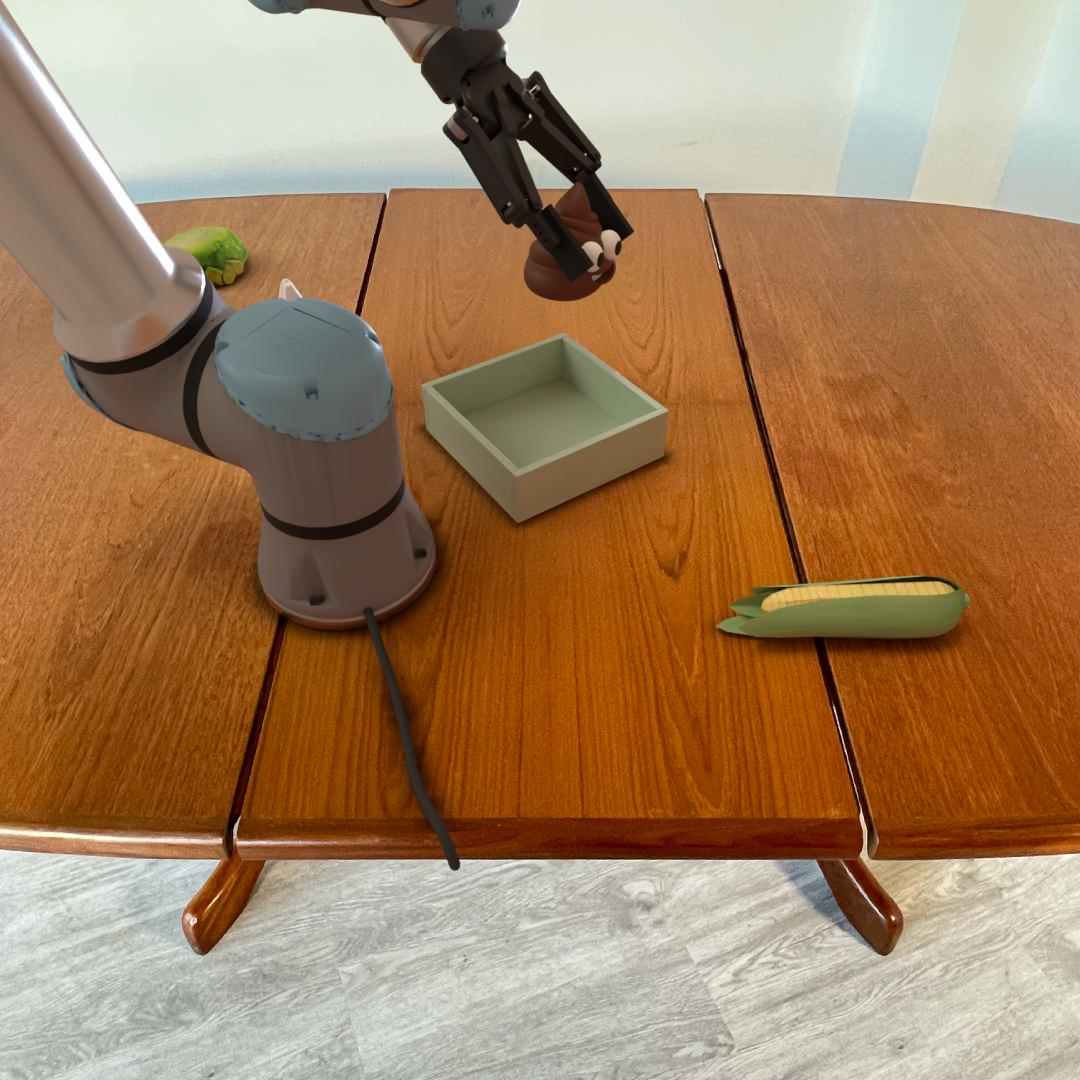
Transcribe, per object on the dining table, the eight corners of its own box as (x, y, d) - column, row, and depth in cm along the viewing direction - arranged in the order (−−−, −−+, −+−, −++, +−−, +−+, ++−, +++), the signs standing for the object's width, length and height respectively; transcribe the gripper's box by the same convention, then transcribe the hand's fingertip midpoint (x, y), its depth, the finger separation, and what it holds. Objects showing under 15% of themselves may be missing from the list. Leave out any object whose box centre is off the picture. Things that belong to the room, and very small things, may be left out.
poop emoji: (563, 252, 91) (565, 159, 84) (634, 274, 87) (642, 179, 81) (505, 289, 85) (503, 192, 78) (579, 315, 81) (583, 216, 75)
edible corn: (968, 646, 70) (987, 608, 67) (720, 655, 70) (728, 617, 67) (944, 599, 74) (962, 561, 71) (709, 606, 74) (716, 569, 71)
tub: (664, 456, 88) (669, 410, 85) (517, 523, 81) (516, 477, 78) (563, 376, 99) (564, 332, 95) (426, 429, 92) (420, 384, 88)
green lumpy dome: (266, 264, 119) (257, 228, 116) (205, 298, 112) (194, 261, 109) (206, 245, 124) (196, 210, 120) (145, 277, 117) (132, 241, 113)
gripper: (489, 42, 86) (625, 237, 91) (356, 98, 74) (523, 321, 79) (535, -15, 81) (677, 196, 86) (400, 35, 68) (576, 280, 73)
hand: (603, 256), depth 82 cm, fingers closed on poop emoji, 7 cm apart
